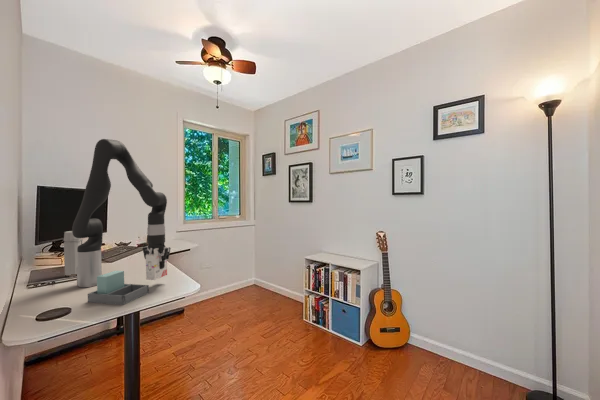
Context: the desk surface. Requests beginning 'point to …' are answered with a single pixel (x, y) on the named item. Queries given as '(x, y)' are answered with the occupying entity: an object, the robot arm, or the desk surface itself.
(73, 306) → the desk surface
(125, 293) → the cartridge holder
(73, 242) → the water bottle
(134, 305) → the desk surface
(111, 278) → the teal block
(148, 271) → the ink cartridge box
